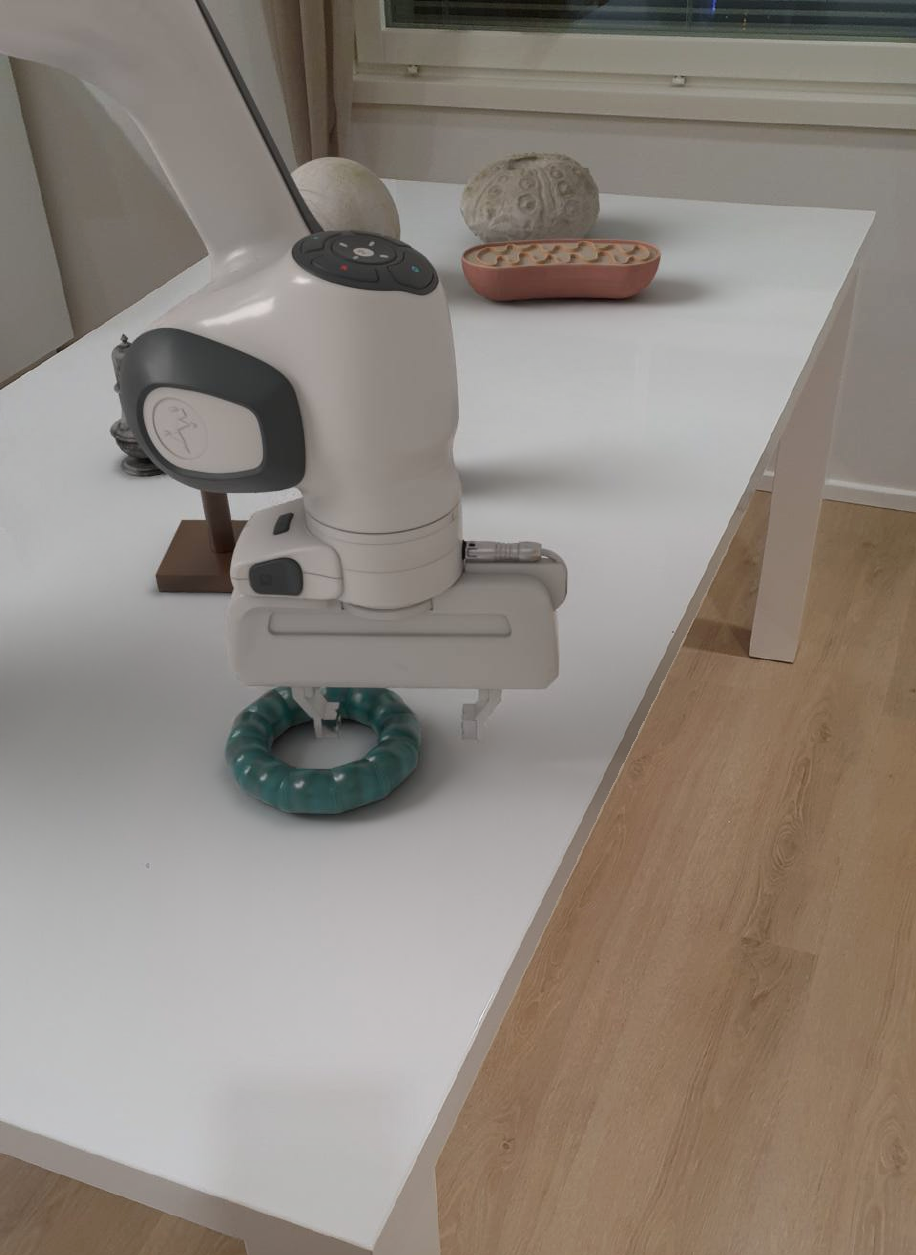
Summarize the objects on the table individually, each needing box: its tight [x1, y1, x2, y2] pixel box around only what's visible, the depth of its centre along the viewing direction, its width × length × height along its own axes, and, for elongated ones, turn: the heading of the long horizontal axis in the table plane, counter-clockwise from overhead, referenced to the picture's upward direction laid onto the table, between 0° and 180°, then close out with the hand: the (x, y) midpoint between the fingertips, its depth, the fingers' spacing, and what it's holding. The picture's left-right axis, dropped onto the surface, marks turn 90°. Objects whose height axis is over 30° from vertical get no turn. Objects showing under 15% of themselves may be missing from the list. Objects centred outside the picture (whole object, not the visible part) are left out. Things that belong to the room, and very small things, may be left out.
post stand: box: [155, 490, 249, 593], centre depth 96 cm, size 9×9×14 cm
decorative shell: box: [459, 151, 601, 244], centre depth 157 cm, size 18×18×10 cm
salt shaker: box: [109, 333, 164, 477], centre depth 111 cm, size 6×6×12 cm
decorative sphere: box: [290, 156, 401, 241], centre depth 141 cm, size 15×15×15 cm
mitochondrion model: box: [461, 238, 662, 302], centre depth 143 cm, size 23×10×5 cm, turn 89°
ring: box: [224, 687, 423, 815], centre depth 80 cm, size 13×13×3 cm
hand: (401, 733), depth 79 cm, fingers open, 8 cm apart
